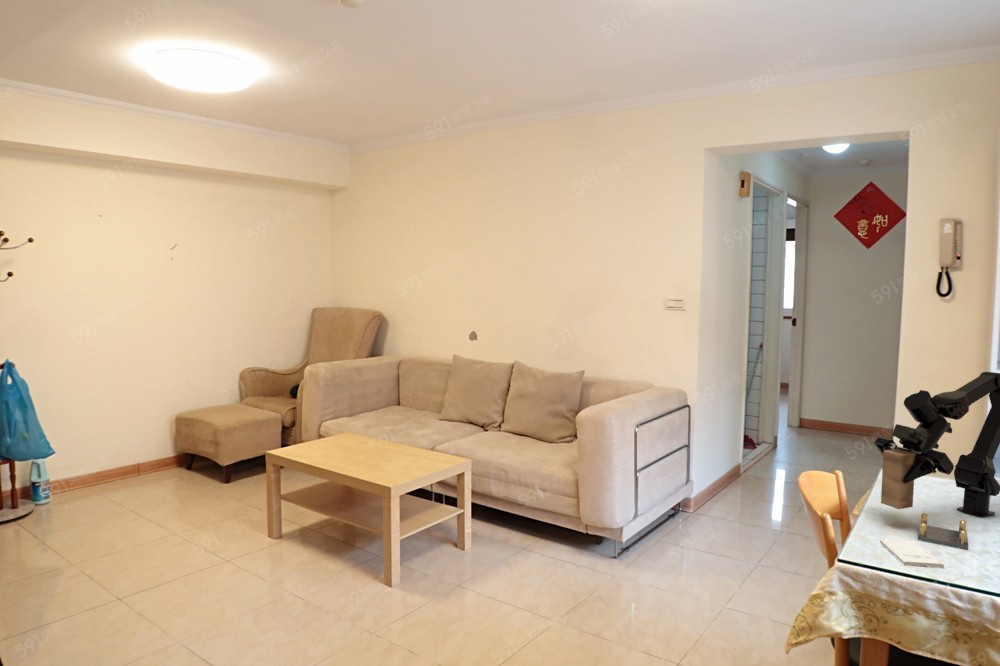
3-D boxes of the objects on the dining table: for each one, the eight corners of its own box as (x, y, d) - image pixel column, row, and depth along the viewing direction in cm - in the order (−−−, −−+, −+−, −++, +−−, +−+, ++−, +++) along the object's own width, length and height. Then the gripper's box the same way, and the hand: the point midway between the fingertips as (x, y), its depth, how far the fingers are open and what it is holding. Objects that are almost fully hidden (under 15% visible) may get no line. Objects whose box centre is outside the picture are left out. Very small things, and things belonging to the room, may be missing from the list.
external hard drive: (916, 547, 154) (943, 570, 142) (879, 545, 155) (903, 567, 143) (916, 541, 154) (944, 563, 141) (879, 539, 155) (904, 560, 143)
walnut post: (894, 500, 170) (897, 448, 168) (912, 506, 165) (915, 453, 164) (880, 502, 168) (883, 450, 167) (898, 509, 163) (901, 455, 162)
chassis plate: (919, 527, 165) (920, 512, 165) (966, 536, 160) (967, 521, 159) (917, 539, 157) (918, 523, 157) (967, 549, 152) (968, 533, 151)
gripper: (880, 407, 175) (848, 450, 172) (949, 421, 157) (914, 469, 154) (900, 433, 178) (868, 476, 175) (968, 450, 160) (935, 497, 158)
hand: (894, 479), depth 165 cm, fingers closed on walnut post, 5 cm apart
